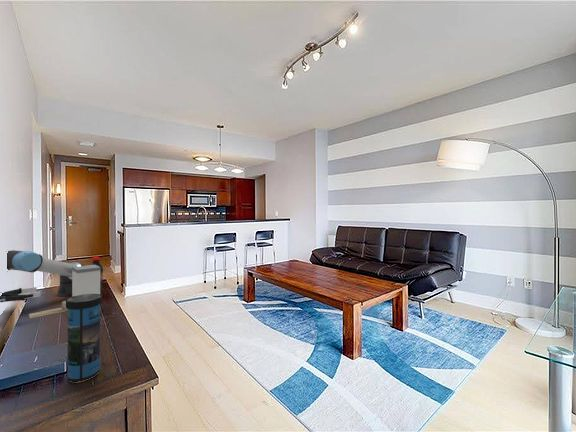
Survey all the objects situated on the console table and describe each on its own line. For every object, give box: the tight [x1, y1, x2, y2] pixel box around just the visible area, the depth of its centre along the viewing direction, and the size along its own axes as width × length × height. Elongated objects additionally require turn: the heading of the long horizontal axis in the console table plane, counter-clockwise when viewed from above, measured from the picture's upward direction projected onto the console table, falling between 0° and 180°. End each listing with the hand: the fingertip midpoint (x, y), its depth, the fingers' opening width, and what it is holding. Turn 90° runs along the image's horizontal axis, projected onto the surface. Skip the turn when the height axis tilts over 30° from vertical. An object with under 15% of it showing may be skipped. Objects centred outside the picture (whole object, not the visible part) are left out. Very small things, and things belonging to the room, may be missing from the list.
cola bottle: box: [91, 256, 104, 297], centre depth 204 cm, size 8×8×30 cm
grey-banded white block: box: [71, 264, 101, 297], centre depth 177 cm, size 12×12×28 cm
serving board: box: [28, 300, 68, 319], centre depth 177 cm, size 4×26×6 cm, turn 137°
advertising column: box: [65, 294, 103, 382], centre depth 109 cm, size 11×11×30 cm
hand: (38, 291), depth 170 cm, fingers open, 13 cm apart
